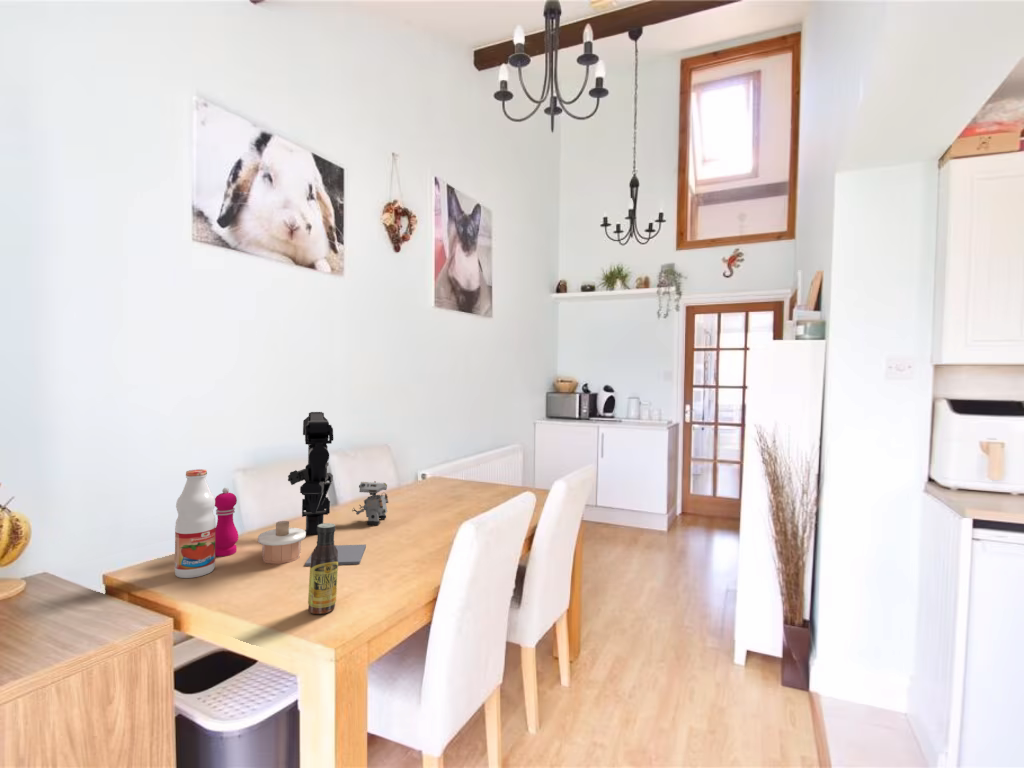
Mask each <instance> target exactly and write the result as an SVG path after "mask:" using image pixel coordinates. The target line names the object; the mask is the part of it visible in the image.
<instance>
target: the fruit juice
mask: <svg viewBox="0 0 1024 768" xmlns="http://www.w3.org/2000/svg"><path fill="white" fill-rule="evenodd" d="M207 471H208V470H207V469H200V468H199V469H197V468H196V469H190V470H186V472H185V478H186V482H185V484H184V487H183V490H182V492H181V493H180V495H179V497H178V498H177V500H176V505H175V508H176V511H177V518H176V521H175V525H174V527H175V528H174V532H175V533H174V535H175V536H174V574H175V577H177V578H180V579H193V578H197V577H203V576H206V575H208V574H210V573H212V572H213V571H214V570H215V566H216V556H215V528H216V525H217V522H216V515H215V513H214V509H215V498H216V496H215V495H214V494H213V493H212V491H211V489H210V487H209V485H208V484H209V483H208V481H207V479H206V477H207V475H208V472H207Z"/></svg>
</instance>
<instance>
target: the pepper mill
mask: <svg viewBox="0 0 1024 768" xmlns="http://www.w3.org/2000/svg"><path fill="white" fill-rule="evenodd" d="M221 491H222V493H219V494H218V495H216V496H215V506H214V508H216V509H215V516H217V520H216V521H217V522H216V527H215V557H228V556H231V555H234V554H236V552H238V551H237V550H238V548H237V547H238V546H237V545H236V544H237V542H238V540H239V533H238V530H237V527H236V526H235V522H234V514H235V512H236V511H235V510H236V508H235V506H236V504H237V503H238V499H237V497H236V495H235V493H232V492H230V490H229V488H228V487H224V488H223V489H222V490H221Z"/></svg>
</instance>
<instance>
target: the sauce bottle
mask: <svg viewBox="0 0 1024 768" xmlns="http://www.w3.org/2000/svg"><path fill="white" fill-rule="evenodd" d="M335 531H336V524H335V523H333V522H332V523H331V522H329V523H328V522H326V523H324V522H323V524H319V525H318V526H317V533H318V534H317V535H316V537H317V539H316V540H317V541H316V546H315V547H314V549H313V551H312V553H311V554H312V555H311V554H310V556H311V565H310V566H309V579H308V580H309V582H308V594H307V595H308V599H307V605H308V612H309V613H310V614H313V615H325V614H328V613H330V612H332V611H334V610H335V607H336V602H337V597H338V596H337V595H338V594H337V592H338V591H337V590H338V576H339V575H338V574H339V573H338V571H339V565H338V550H337V548H336V547H335Z"/></svg>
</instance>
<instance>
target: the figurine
mask: <svg viewBox="0 0 1024 768" xmlns="http://www.w3.org/2000/svg"><path fill="white" fill-rule="evenodd" d="M358 489H359V493H369V495H370V496H367V498H366V499H364V500H363V503H364V505H361V504H359V506H360V507H358V509H359V510H357V509H356V508H352V510H351V511H352V512H356V515H357V516H359V515H360V514H361V513H364V512H365V516H366V518H367V521H366V522H367V523H366V524H367V525H368V526H373V525H374V526H379V525H380V520H385V519H387V515H386V514H387V513H388V509H387V504H389V499H388V497H389V496H388V494H387V493H386V492H382V491H387V490H388V484H387V483H386V482H377V481H375V480H374V481H361V482H360V484H359V485H358ZM380 492H382V493H381V494H378V493H380ZM383 494H384V495H383ZM379 519H380V520H379Z"/></svg>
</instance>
